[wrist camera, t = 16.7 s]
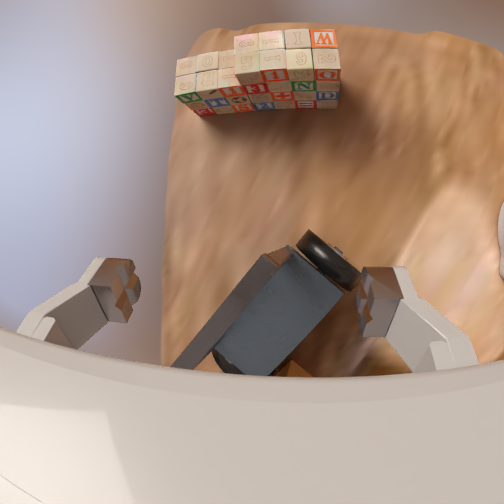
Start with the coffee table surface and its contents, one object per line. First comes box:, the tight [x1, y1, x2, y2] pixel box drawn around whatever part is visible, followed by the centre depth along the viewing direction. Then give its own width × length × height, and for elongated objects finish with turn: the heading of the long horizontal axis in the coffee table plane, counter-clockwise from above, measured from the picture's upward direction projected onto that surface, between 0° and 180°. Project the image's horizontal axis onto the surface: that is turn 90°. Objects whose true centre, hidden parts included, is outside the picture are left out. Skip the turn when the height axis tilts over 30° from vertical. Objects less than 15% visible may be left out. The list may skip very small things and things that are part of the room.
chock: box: [275, 359, 313, 377], centre depth 40 cm, size 5×5×8 cm
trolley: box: [171, 229, 361, 376], centre depth 32 cm, size 10×21×23 cm, turn 141°
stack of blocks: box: [174, 29, 341, 116], centre depth 37 cm, size 21×6×12 cm, turn 90°
